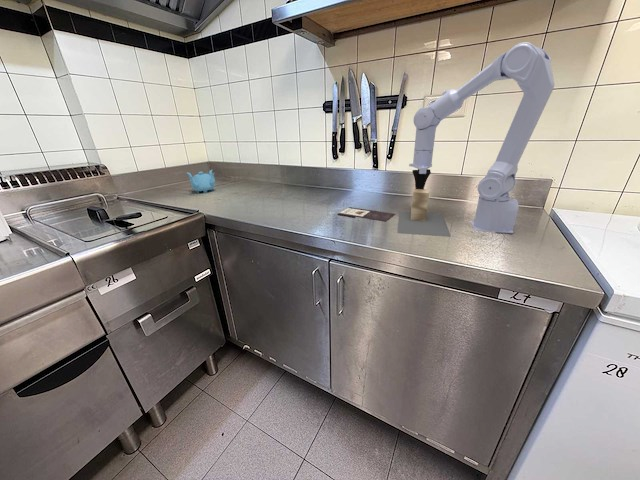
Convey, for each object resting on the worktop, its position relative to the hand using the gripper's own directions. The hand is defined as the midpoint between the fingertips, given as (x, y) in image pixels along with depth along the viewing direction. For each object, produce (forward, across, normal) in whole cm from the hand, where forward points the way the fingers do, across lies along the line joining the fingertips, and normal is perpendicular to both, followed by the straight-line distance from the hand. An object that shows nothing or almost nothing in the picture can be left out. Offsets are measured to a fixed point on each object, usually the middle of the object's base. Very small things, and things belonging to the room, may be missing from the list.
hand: (419, 191), depth 91 cm
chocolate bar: (+8, +6, -17) cm, 20 cm away
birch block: (+7, +8, 0) cm, 11 cm away
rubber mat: (+7, +12, +1) cm, 14 cm away
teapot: (+8, -20, -105) cm, 107 cm away
